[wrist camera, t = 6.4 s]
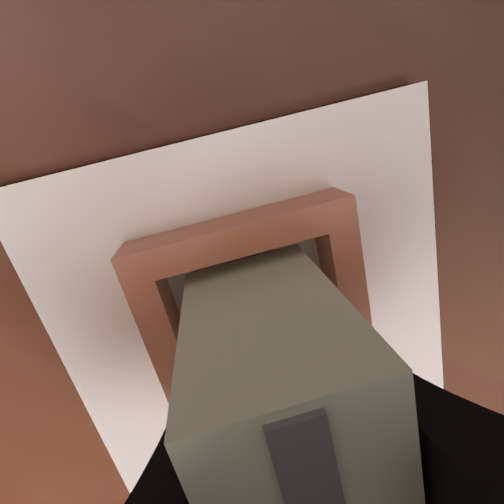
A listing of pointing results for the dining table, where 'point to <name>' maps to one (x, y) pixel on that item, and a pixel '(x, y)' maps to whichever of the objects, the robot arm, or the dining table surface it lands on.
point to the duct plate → (226, 244)
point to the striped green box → (287, 392)
